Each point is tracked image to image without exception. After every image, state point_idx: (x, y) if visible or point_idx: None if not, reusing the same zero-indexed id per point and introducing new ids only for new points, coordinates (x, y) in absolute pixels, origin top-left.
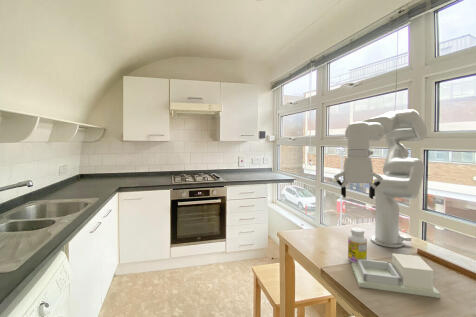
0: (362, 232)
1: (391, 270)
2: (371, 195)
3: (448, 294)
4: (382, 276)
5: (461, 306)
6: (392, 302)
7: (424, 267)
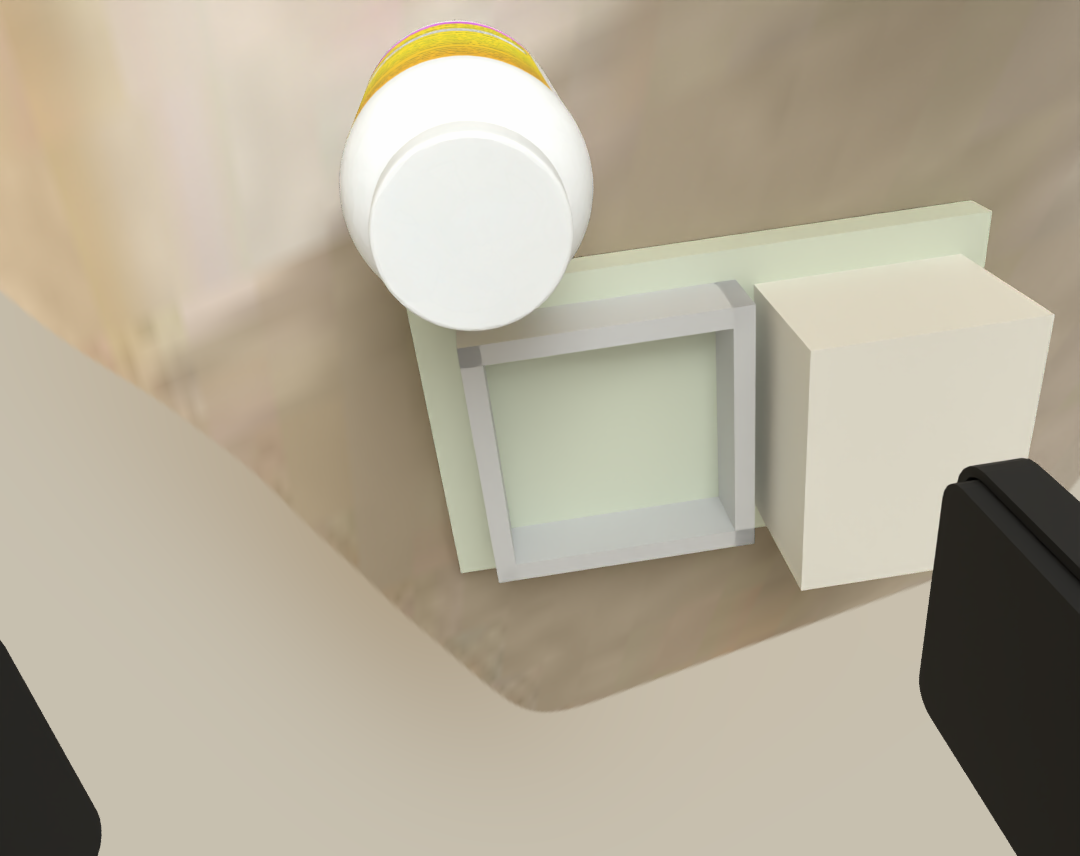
0: (540, 302)
1: (728, 408)
2: (985, 782)
3: None
4: (628, 559)
5: None
6: (637, 621)
7: None
